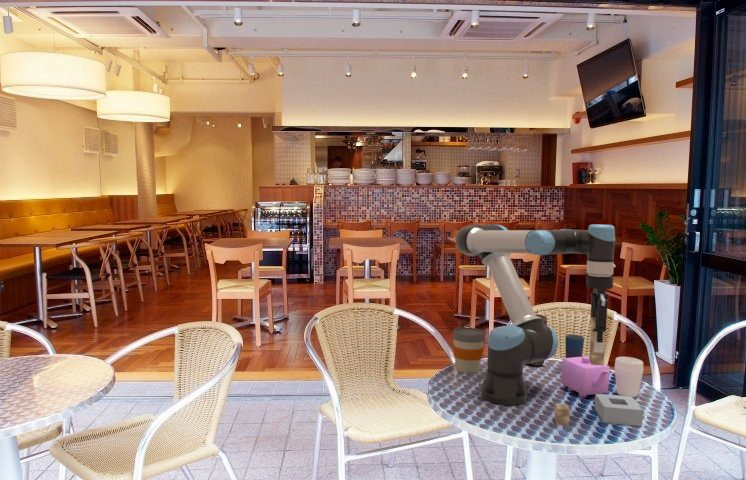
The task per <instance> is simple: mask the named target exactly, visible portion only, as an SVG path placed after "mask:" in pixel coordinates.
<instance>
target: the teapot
mask: <svg viewBox="0 0 746 480" xmlns="http://www.w3.org/2000/svg"><path fill="white" fill-rule="evenodd" d="M589 361H590V356H585V355H584V356H583V355H582V357H573V358H566V357H565V358H564V357H563V358H562V363H561V378H560V379H561V380H560V384H562V385H563V386H565V387H567V391H568V390H569V392H576V393H578V397H580V398H585V399H586V398H587V396H591V395H594V396H595V394H606V393H607V394H608V393H609V384H610V373H611V371H610V368H611V367H610V366H609V365H608V364H605V363H604V366H603V365H591V363H590V362H589Z"/></svg>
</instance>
